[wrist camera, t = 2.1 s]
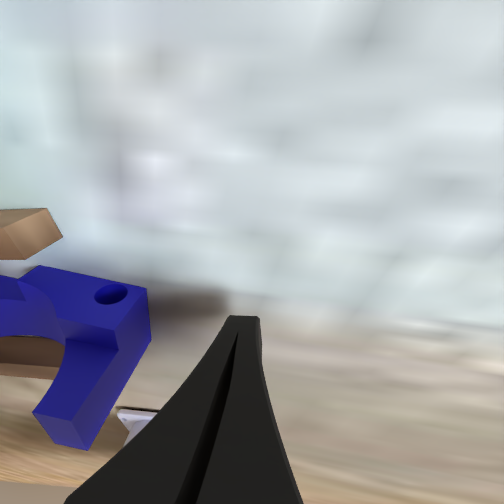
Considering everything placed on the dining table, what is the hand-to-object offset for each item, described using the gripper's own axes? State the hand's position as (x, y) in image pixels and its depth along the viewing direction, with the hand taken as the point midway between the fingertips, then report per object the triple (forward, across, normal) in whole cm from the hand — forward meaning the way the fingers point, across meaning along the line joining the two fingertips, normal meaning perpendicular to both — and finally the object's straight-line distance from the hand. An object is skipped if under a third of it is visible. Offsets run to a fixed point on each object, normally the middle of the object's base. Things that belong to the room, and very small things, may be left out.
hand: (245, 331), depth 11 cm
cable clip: (+2, +12, 0) cm, 12 cm away
